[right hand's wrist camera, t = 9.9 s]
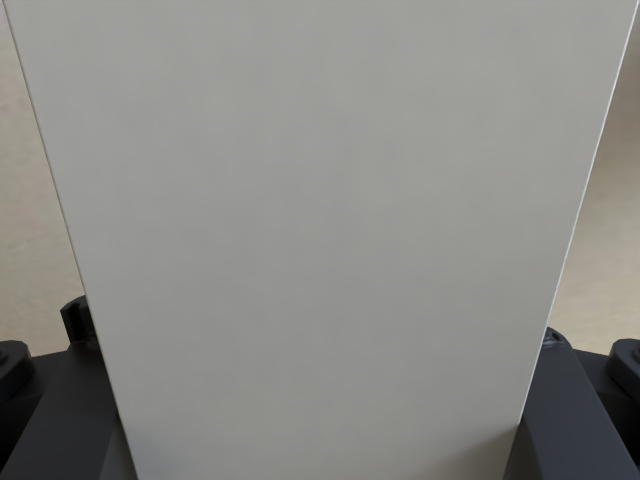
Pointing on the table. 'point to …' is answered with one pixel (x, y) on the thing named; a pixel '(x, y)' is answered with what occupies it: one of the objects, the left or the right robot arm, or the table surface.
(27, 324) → the table surface
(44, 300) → the table surface
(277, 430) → the box
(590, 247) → the table surface
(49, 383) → the right robot arm
